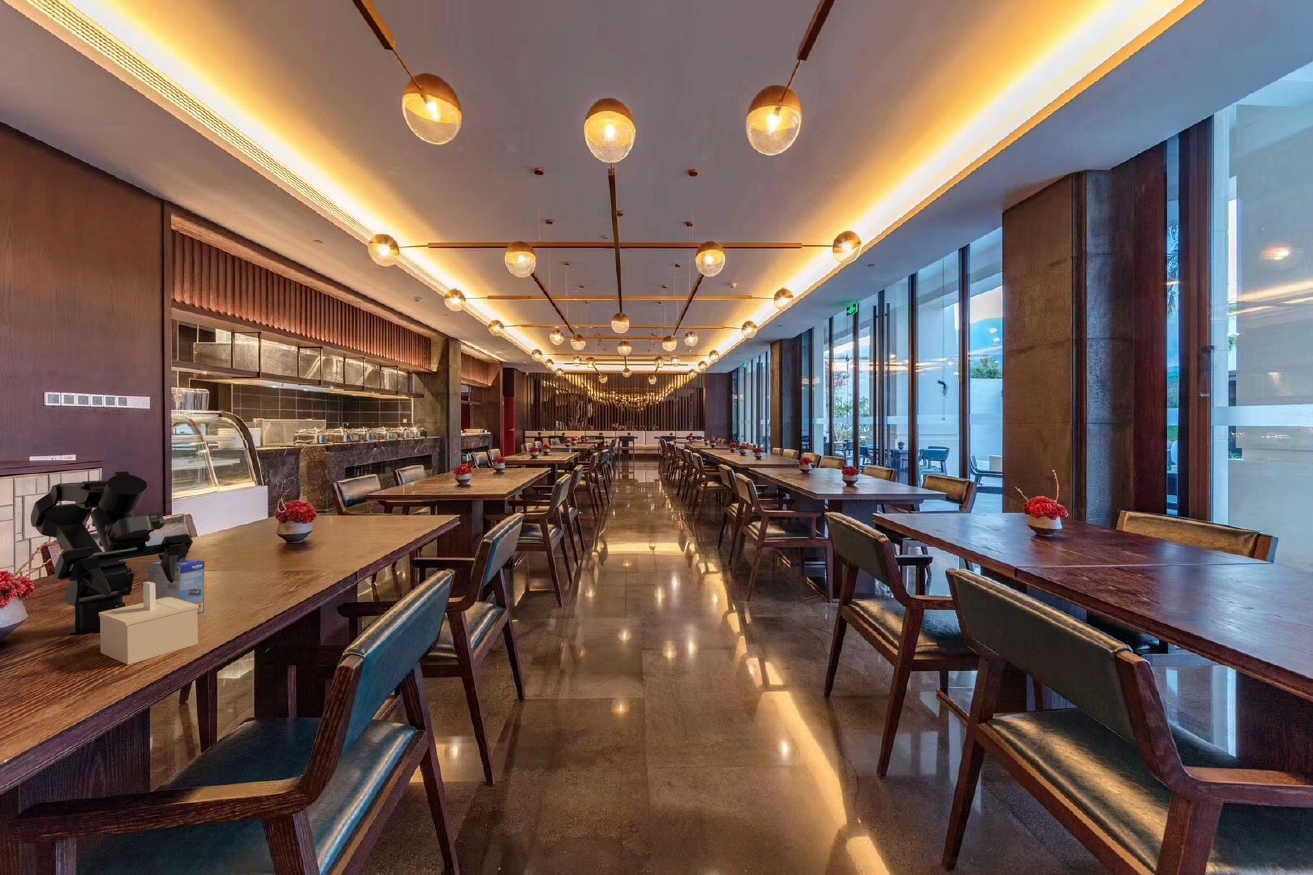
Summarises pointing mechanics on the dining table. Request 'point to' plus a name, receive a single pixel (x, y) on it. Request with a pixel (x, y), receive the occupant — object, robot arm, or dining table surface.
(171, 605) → the carton lid
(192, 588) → the ink cartridge box
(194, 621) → the carton
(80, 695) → the dining table surface
